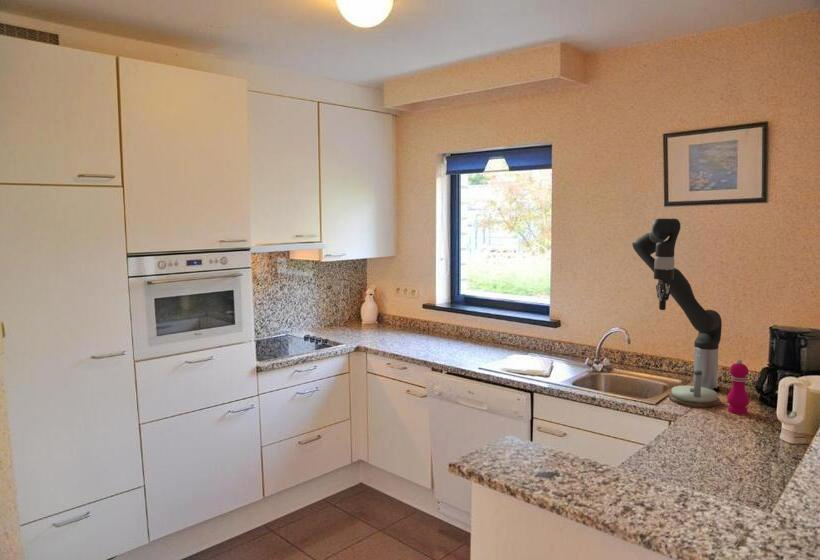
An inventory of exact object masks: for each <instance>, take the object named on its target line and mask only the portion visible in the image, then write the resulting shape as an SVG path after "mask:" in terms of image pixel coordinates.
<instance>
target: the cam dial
mask: <svg viewBox="0 0 820 560" xmlns="http://www.w3.org/2000/svg"><path fill="white" fill-rule="evenodd" d="M701 375H702V371H698V370H695V371H694V370H693V376H694V386H693V385H677V386H673V387H672V388H671V392H672V393H671V392H670V393H671V394H672V396H673V397H675V398H677V399H680V400H684V401H689V402H697V403H708V402H714V401H716V400H717V397H718V392H717V391H715V389H708V388H704V387H701Z"/></svg>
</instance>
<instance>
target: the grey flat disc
mask: <svg viewBox="0 0 820 560" xmlns="http://www.w3.org/2000/svg"><path fill="white" fill-rule="evenodd" d="M671 393H672V391H671V392H669V394H668V395H669V396H668V399H669V401H671V402H672V403H673V404H676V405H680V406H683V407H684V406H685V407H688V408H690V407H691V408H698V409H706V408H707V409H708V408H710V409H711V408H717V407H718V406H719V405H720V398H719V397H718V396H717V400H716V401H714V402H708V403H697V402H689V401H684V400H680V399H677V398H675V397H673V396H672V394H671Z"/></svg>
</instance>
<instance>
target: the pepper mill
mask: <svg viewBox="0 0 820 560" xmlns="http://www.w3.org/2000/svg"><path fill="white" fill-rule="evenodd" d="M729 371H730V372H729V373H730V374H731V376H730V379H731V381H732V386H731V388H730V390H729V392H728V394H727V397H726V399H727V403H728V404H729V405H727V406H728V407H727V410H728V412H729V413H731V414H735V415H746V414H747V413H748V405H749V404H750V397H749V395H748V393H747V390H746V388H745V387H746V382H747V376H748V374H749V368H748V366H747V365H746V364H744V363H743V360H742V359H737V360H736V363H733V364H731V366H730V368H729Z"/></svg>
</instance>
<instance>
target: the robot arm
mask: <svg viewBox="0 0 820 560" xmlns="http://www.w3.org/2000/svg"><path fill="white" fill-rule="evenodd" d="M651 226H652V227H651V229H650V231H649V232H647V233H645V234H643V235H642V236H640V237H637V238H636V239H635V240H633V241H632V243H631V244H632V248H633V250H634V252H635V253H636V254H637V255H638V257H640V259H641V260H642V261H643V262H644V264H645V265H647V266H648V268H650V270H651V271H652V272H653V279H654V280H657V281H658V283H657V284H656V285H655V289H656V297H657V299H658V309H659V310H660V311H665V310H666V309H667V308H666V307H667V301H669V298H670V296H671V297H672V298H673V300H674V301H675V303H677V305H678V306H679V307H680V308H681V310H682V311H683V313H684V314H685V315H686V317H687V319H688V321H689V322H690V323H691V325H692V327H693V328H694V330H696V331H697V332H698V334H697V336H696V338H695V340H694V343H693V344H694V345H693V348H694V349H693V350H694V351H693V353H694V354H693V372H694V371H695V370H698V371H702V375H701V387H704V388H708V389H711V390H715V389H714V388H716V389H718V375H719V374H718V373H719V372H718V371H719V370H718V369H719V348H720V346H719V345H720V343H721V339H722V338H721V337H722V325H723V323H722V322H723V321H722V317H721V314H720V313H719V312H718V311H716V310H714V309H706V310H705V308H703V306H702V305H701V304H700V303H699V301H698V300H697V299H696V297H695V295H694V292H693V289H692V286H691V284H690V282H689V280H688V279H687V278H686V277H685V276H684V274H683V273H682V272H681V271H680V270H679V269H678V268H676V267H675V264H676V263H675V249H676V243H677V239H678V237H679V233H680V231H681V226H682V225H681V222H680V220H679V219H678V218H674V217H673V218H656V219H654V220H653V222H652V224H651ZM654 253H655V257H653V256H652V254H654ZM692 382H693V383H692V384H693V385H692V386H694V375H693V380H692Z"/></svg>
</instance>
